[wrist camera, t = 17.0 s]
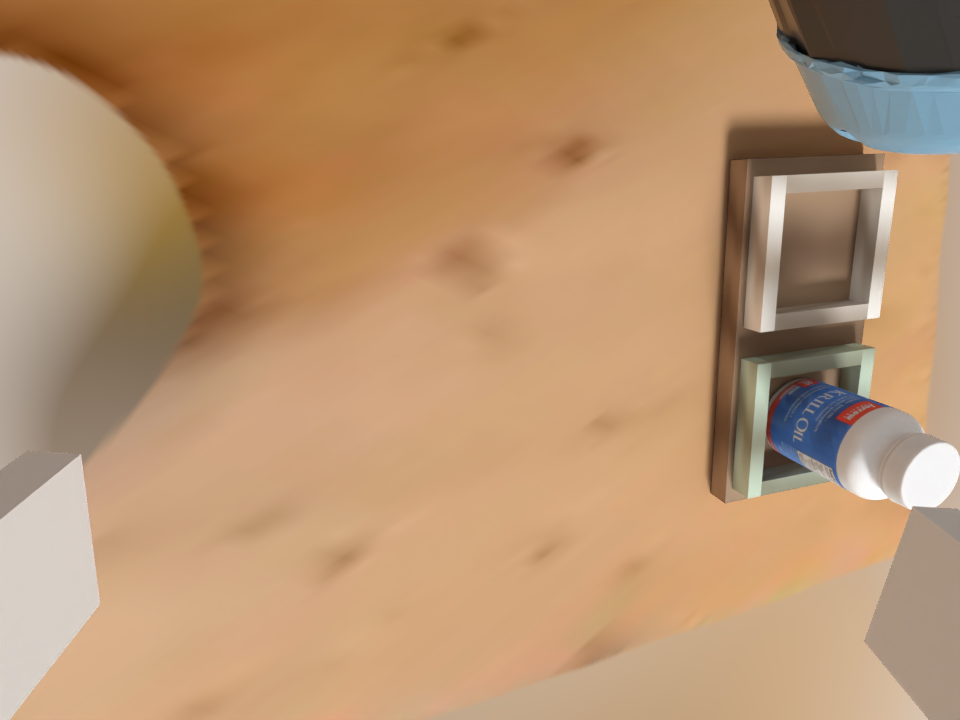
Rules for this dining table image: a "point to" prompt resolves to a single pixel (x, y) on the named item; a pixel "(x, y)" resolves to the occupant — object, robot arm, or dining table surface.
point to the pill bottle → (860, 444)
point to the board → (794, 300)
